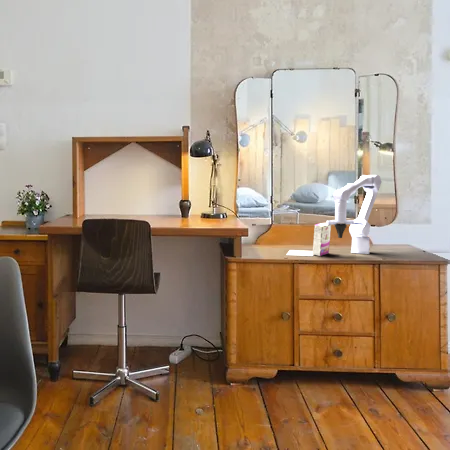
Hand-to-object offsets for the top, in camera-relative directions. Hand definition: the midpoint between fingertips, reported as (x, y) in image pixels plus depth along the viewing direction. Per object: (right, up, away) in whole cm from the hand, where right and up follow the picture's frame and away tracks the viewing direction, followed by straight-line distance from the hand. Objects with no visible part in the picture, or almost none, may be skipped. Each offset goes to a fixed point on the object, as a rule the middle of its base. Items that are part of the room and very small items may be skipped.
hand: (340, 237), depth 238 cm
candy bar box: (-10, -9, +4) cm, 14 cm away
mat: (-20, -9, +7) cm, 23 cm away
